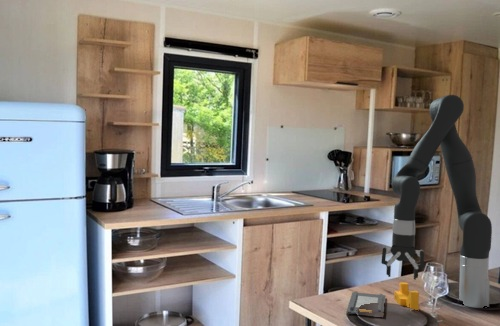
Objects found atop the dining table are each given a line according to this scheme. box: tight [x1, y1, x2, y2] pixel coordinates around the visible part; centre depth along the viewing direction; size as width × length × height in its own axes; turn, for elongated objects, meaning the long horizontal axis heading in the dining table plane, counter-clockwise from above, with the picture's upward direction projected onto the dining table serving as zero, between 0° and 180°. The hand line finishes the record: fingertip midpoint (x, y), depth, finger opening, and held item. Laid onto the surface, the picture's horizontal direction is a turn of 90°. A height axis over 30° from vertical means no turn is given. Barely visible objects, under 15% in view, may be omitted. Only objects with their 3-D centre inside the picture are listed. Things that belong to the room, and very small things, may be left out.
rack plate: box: [346, 290, 386, 314], centre depth 164 cm, size 12×22×2 cm, turn 163°
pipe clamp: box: [393, 282, 420, 311], centre depth 166 cm, size 12×4×6 cm, turn 1°
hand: (401, 277), depth 166 cm, fingers open, 8 cm apart
